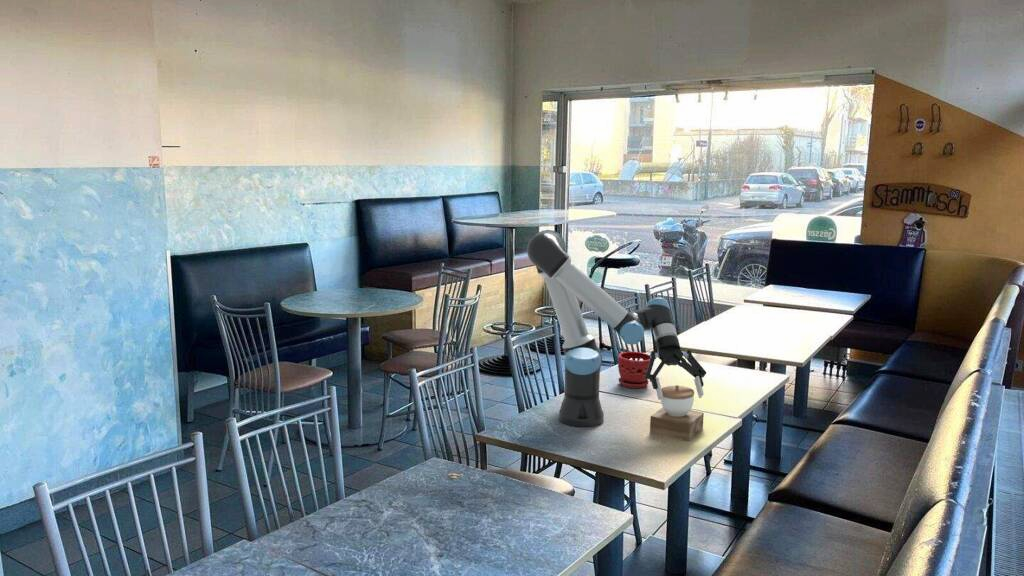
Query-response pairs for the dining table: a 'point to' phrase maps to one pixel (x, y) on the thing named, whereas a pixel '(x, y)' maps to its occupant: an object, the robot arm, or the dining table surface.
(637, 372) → the plant pot
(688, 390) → the lidded jar
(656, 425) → the walnut block
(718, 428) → the dining table surface
